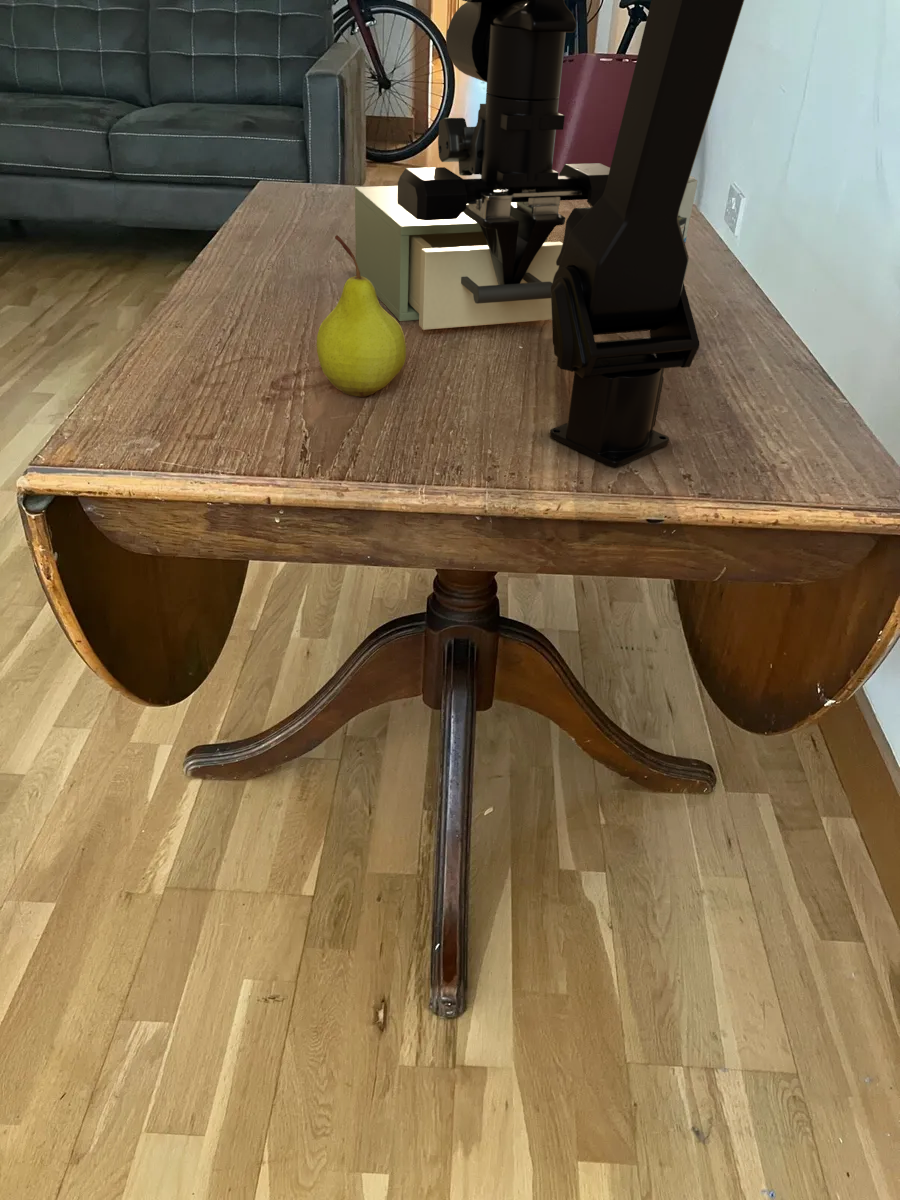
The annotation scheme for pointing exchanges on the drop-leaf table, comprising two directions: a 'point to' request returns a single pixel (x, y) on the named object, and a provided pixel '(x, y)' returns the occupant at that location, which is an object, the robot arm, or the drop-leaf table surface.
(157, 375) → the drop-leaf table surface
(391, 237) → the cabinet
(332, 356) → the fruit
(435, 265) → the drawer
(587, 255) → the robot arm
